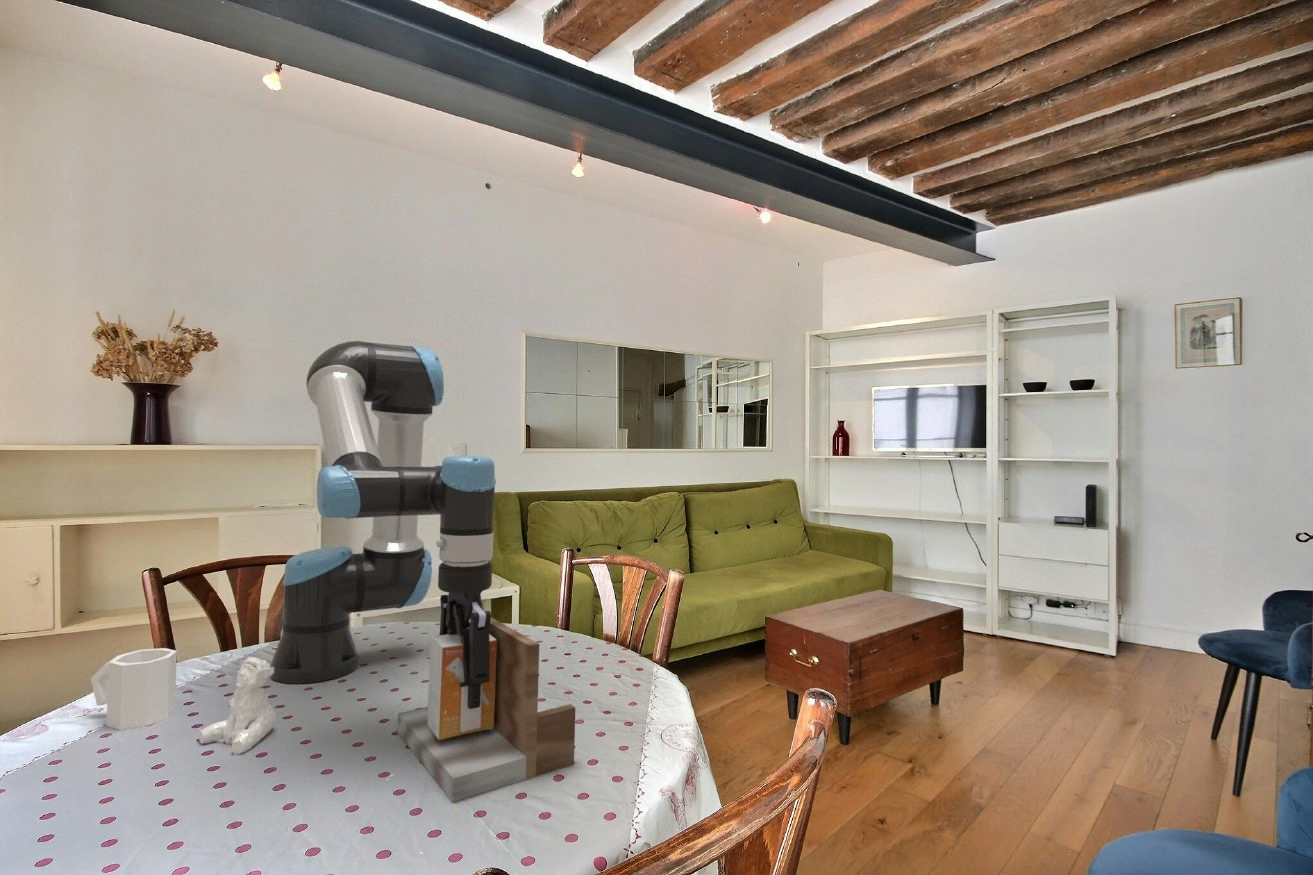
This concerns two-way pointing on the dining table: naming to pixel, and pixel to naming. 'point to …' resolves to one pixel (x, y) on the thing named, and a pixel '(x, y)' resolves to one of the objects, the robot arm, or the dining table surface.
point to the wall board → (498, 729)
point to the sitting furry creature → (245, 710)
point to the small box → (455, 687)
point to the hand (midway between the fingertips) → (461, 719)
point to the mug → (137, 688)
